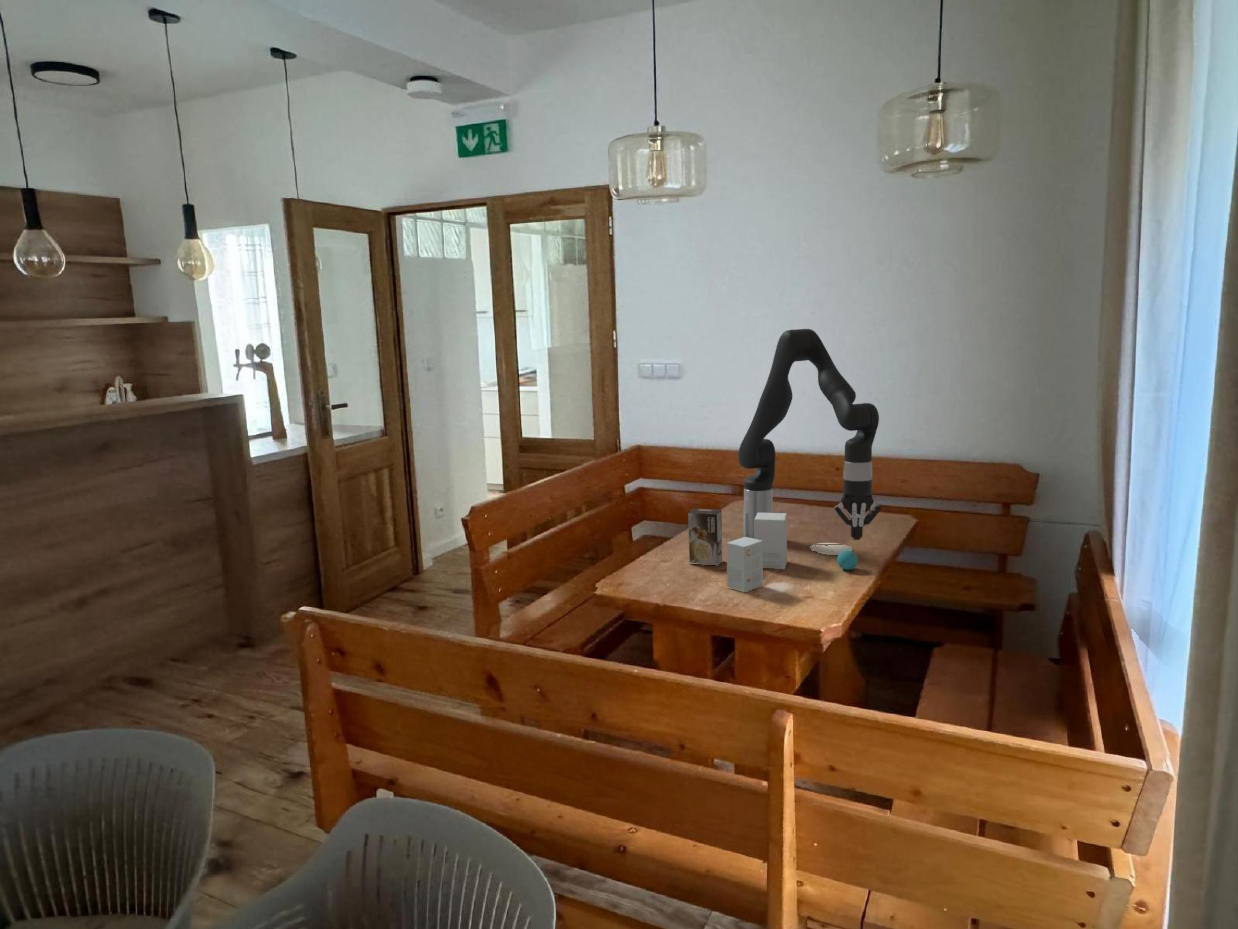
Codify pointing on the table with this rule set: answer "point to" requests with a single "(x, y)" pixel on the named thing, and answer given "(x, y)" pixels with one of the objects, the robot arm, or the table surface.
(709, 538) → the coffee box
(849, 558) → the ball
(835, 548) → the disc
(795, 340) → the robot arm
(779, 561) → the supplement box
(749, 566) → the small box
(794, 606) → the table surface
